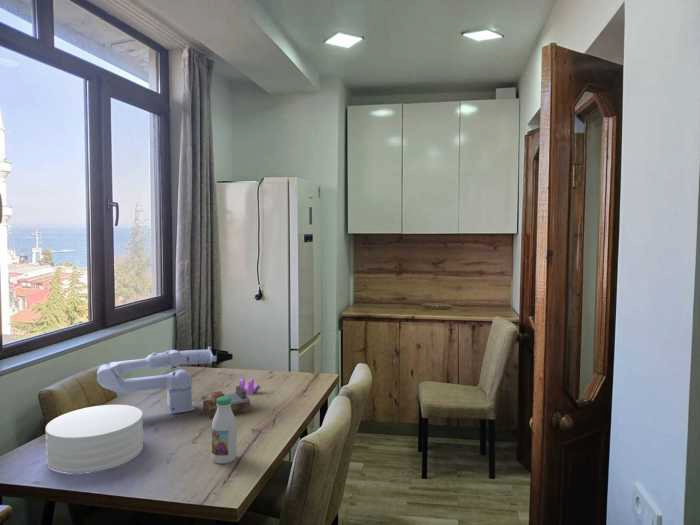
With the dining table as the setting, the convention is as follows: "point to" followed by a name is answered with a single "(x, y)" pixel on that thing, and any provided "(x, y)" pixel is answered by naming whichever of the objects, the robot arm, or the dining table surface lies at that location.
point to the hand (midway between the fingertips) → (230, 355)
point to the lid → (238, 396)
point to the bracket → (248, 386)
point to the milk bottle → (224, 432)
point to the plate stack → (94, 438)
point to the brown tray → (235, 408)
